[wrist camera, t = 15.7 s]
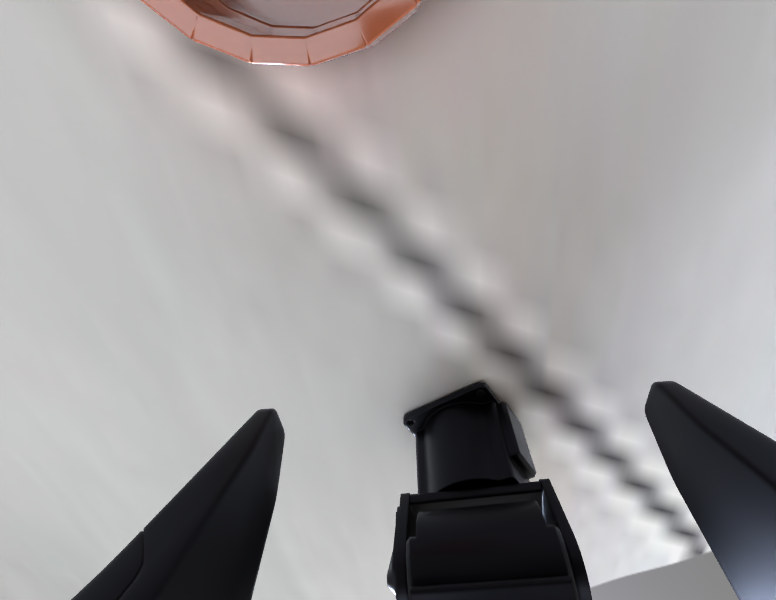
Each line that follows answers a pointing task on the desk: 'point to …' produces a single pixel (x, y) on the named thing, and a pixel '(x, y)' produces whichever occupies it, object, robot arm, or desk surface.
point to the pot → (286, 26)
